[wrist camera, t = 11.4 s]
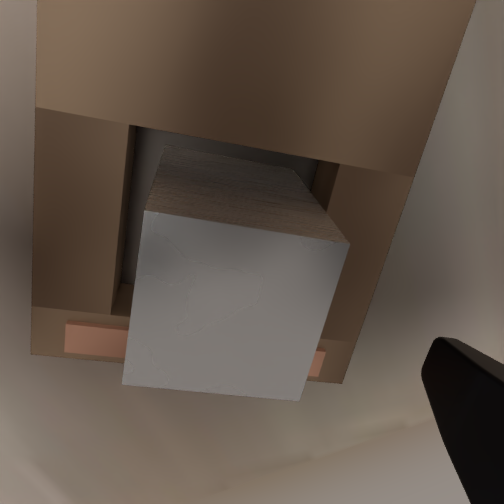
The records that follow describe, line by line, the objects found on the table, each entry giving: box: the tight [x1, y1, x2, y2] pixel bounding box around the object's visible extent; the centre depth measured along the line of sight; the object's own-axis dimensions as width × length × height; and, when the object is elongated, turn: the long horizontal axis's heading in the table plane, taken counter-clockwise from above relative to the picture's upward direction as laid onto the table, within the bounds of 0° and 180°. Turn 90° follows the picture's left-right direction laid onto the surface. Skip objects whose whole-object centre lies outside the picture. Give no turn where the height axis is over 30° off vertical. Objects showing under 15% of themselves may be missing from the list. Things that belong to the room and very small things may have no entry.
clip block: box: [122, 145, 350, 401], centre depth 12 cm, size 4×4×6 cm
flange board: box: [31, 0, 476, 384], centre depth 13 cm, size 10×14×2 cm
